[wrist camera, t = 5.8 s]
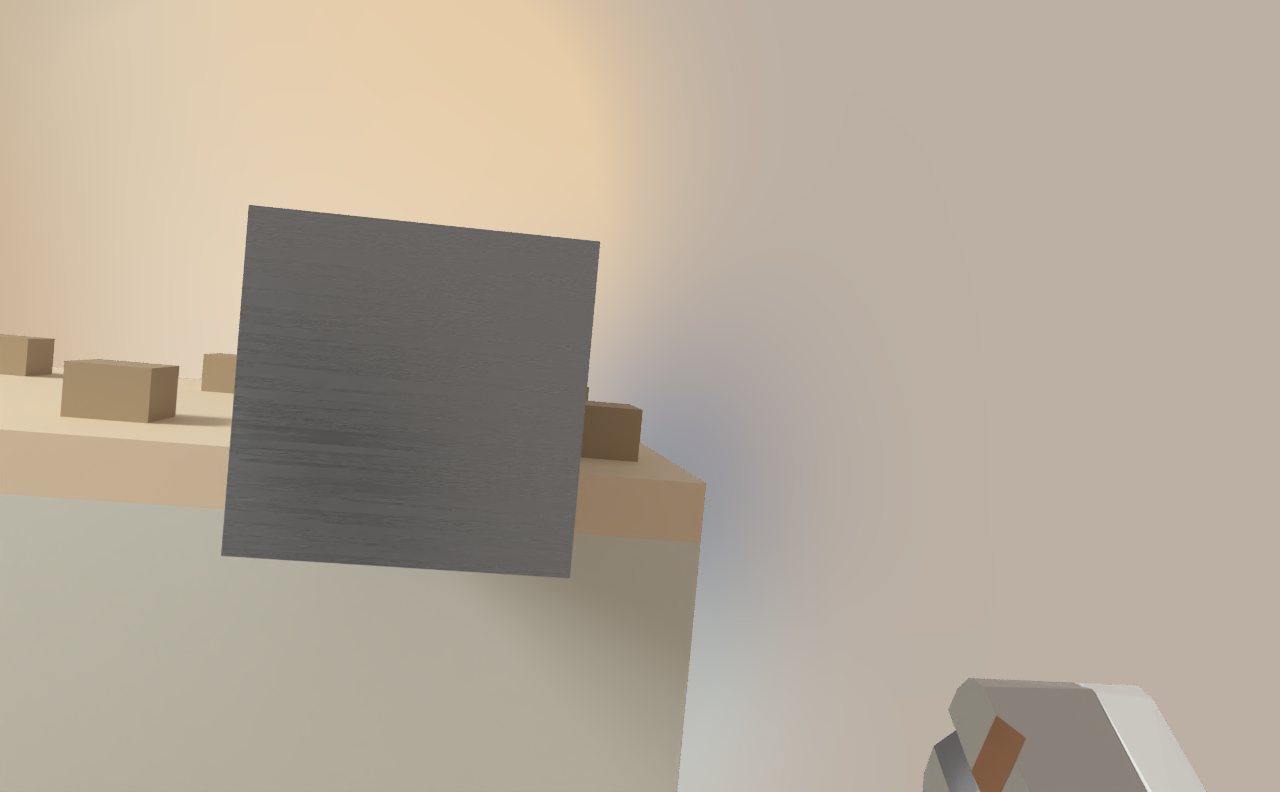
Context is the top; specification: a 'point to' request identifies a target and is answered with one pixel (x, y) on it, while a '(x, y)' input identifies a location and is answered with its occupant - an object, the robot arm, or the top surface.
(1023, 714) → the robot arm
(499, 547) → the long grey bar
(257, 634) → the stand
